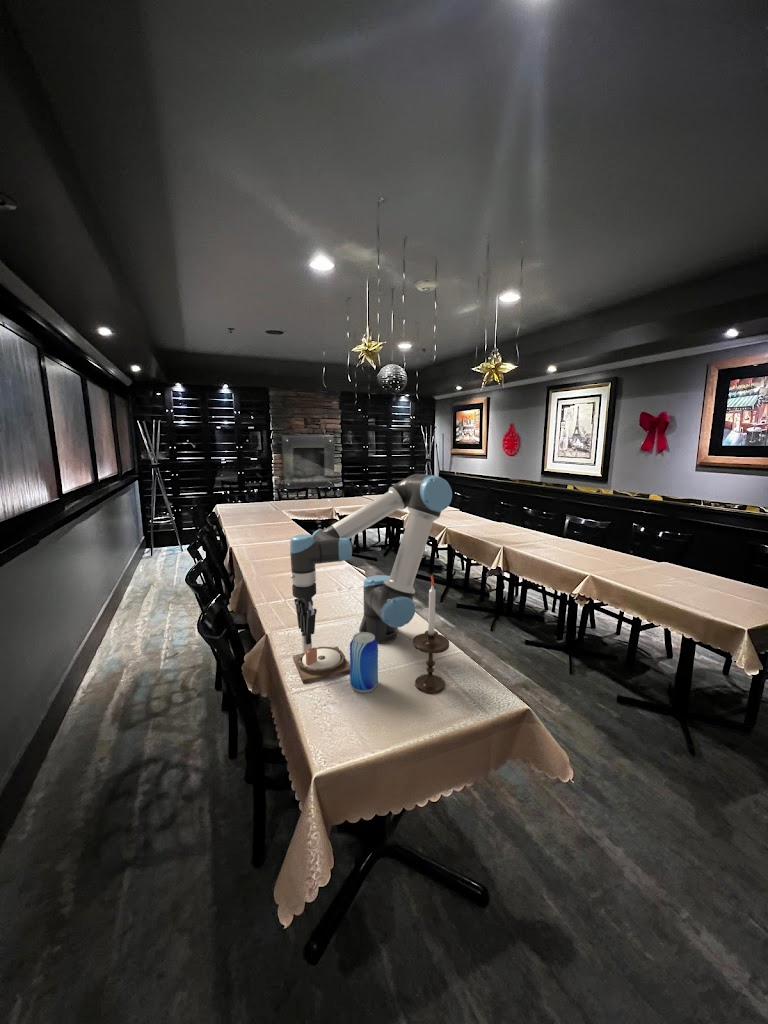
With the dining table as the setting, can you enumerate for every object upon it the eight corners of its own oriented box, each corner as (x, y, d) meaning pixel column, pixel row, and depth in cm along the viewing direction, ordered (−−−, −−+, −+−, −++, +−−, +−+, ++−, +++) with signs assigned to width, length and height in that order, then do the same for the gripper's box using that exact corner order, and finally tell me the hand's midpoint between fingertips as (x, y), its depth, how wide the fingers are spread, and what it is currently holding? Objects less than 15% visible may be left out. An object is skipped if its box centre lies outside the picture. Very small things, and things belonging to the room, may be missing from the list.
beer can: (367, 697, 117) (367, 646, 114) (344, 688, 121) (344, 639, 119) (383, 683, 124) (383, 635, 122) (360, 675, 128) (360, 628, 126)
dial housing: (337, 649, 145) (337, 642, 144) (352, 672, 130) (352, 664, 130) (292, 658, 138) (292, 650, 138) (302, 683, 124) (302, 674, 123)
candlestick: (411, 674, 129) (413, 569, 123) (445, 675, 129) (448, 570, 123) (413, 695, 118) (415, 581, 113) (450, 696, 118) (453, 581, 112)
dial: (323, 648, 143) (322, 632, 142) (348, 660, 135) (348, 644, 134) (294, 662, 133) (293, 646, 132) (319, 676, 125) (319, 659, 124)
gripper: (285, 579, 132) (289, 646, 136) (300, 591, 121) (304, 663, 125) (307, 575, 136) (310, 640, 140) (323, 586, 125) (326, 656, 129)
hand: (307, 651), depth 133 cm, fingers closed
